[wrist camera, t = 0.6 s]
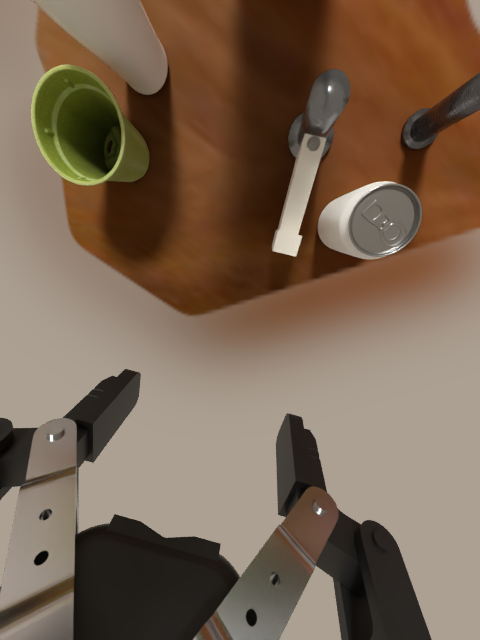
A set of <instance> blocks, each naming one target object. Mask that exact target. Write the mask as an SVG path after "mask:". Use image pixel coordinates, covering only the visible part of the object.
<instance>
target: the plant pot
mask: <svg viewBox="0 0 480 640" xmlns="http://www.w3.org/2000/svg"><path fill="white" fill-rule="evenodd" d="M31 120H32V127H33V131H34V135H35V138H36V141H37V144H38V146H39V148H40V150H41V153H42V155H43V156H44V158H45V159H46V161H47V162H48V163H49V165H50V166H51V167H52V168H53V169H54V170H55V171H56V172H57V173H58V174H59V175H60V176H62V177H63V178H65V179H67V180H69V181H70V182H73V183H75V184H79V185H84V186H94V185H98V184H101V183H104V182H106V181H119V182H134V181H136V180H138V179H140V178H141V177H143V176H144V175H145V173H146V171H147V169H148V166H149V159H150V156H149V150H148V147H147V145H146V142H145V140H144V138H143V137H142V135H141V134H140V133H139V132H138V131H137V130H136V128H135V127H134V126H133V125H132V124H131V123H130V122H129V121H128V119H127V118H126V117H125V116H124V115H123V114H122V112H121V110H120V107H119V105H118V103H117V101H116V99H115V97H114V95H113V94H112V92H111V91H110V90H109V88H108V87H107V86H106V85H105V84H104V82H103V81H102V80H101V79H100V78H98V77H97V76H96V75H95V74H93V73H92V72H90V71H88V70H86V69H84V68H82V67H79V66H75V65H60V66H57V67H55V68H53V69H51V70H49V71H48V72H47V73H46V74H45V75H43V77H42V78H41V79H40V81H39V82H38V84H37V86H36V88H35V91H34V94H33V99H32V106H31ZM110 141H112V146H111V149H110V150H111V151H110V153H109V152H108V145H109V142H110Z"/></svg>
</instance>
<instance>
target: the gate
mask: <svg viewBox="0 0 480 640" xmlns="http://www.w3.org/2000/svg"><path fill="white" fill-rule="evenodd" d="M326 139H327V138H323V137H319V136H314V135H310V134H306V133H305V135H304V137H303V140H302V143H301V145H300V148H299V150H298V154H297V158H296V161H295V165H294V169H293V173H292V177H291V180H290V184H289V188H288V192H287V196H286V199H285V203H284V207H283V211H282V214H281V218H280V222H279V226H278V230H276V231H275V235H274V239H273V243H272V251H274V252H278V253H283V254H287V255H291V256H295V257H296V255H297V252H298V249H299V246H300V242H301V239H302V236H300V235H298V233H299V230H300V226H301V223H302V220H303V216H304V213H305V210H306V206H307V203H308V199H309V196H310V193H311V189H312V186H313V182H314V179H315V176H316V172H317V169H318V166H319V162H320V159H321V155H322V152H323V149H324V145H325V142H326Z"/></svg>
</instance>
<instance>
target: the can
mask: <svg viewBox="0 0 480 640" xmlns="http://www.w3.org/2000/svg"><path fill="white" fill-rule="evenodd" d="M421 218H422V208H421V203H420V200H419V198H418V197H417V195H416V194H415V193H414V192H413V191H412V190H411V189H410V188H408V187H406V186H404V185H401V184H397V183H394V182H388V181H383V182H376V183H372V184H369V185H366V186H364V187H361V188H359V189H357V190H354V191H352V192H350V193H348V194H345V195H343V196H341V197H339V198H337V199H335V200H333V201H332V202H330V203H329V204H328V205H327V206H326V207H325V208H324V210H323V211H322V213H321V215H320V217H319V221H318V234H319V237H320V239H321V241H322V242H323V243H324V244H325V245H326V246H327V247H329V248H331V249H333V250H336V251H339V252H342V253H345V254H348V255H351V256H354V257H358V258H362V259H378V258H382V257H385V256H388V255H391V254H394V253H396V252H398V251H399V250H401V249H402V248H404V247H405V246H406V245H407V244H408V243H409V242H410V241H411V240H412V239H413V237H414V236H415V234H416V233H417V231H418V229H419V226H420V223H421Z"/></svg>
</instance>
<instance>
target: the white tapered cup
mask: <svg viewBox="0 0 480 640" xmlns="http://www.w3.org/2000/svg"><path fill="white" fill-rule="evenodd" d="M32 1H33V2H34V3H35V4H36V5H37V6H38V7H39V8H40V9H41V10H42V11H43V12H44V13H45V14H46V15H48V16H49V17H50V18H51V19H52V20H53V21H54V22H55V23H56V24H57V25H58V26H60V27H61V28H62V29H63V30H64V31H65V32H66V33H68V34H69V35H70V36H71V37H72V38H74V39H75V40H76V41H77V42H78V43H80V44H81V45H82V46H83V47H85V48H86V49H87V50H88V51H90V52H91V53H92V54H93V55H94V56H96V57H97V58H98V59H99V60H101V61H102V62H103V63H104V64H105V65H107V66H108V67H109V68H110V69H112V70H113V71H114V72H115V73H116V74H118V75H119V76H120V77H121V78H122V79H123V80H125V81H126V82H127V83H128V84H129V85H130V86H131V87H132V88H133V89H134V90H135V91H137V92H138V93H140V94H144V95H151V94H154V93H156V92H158V91H159V90H160V89H161V88H162V86H163V85H164V83H165V81H166V77H167V72H168V62H167V57H166V53H165V50H164V48H163V46H162V44H161V42H160V41H159V39H158V37H157V35H156V33H155V31H154V29H153V27H152V25H151V22H150V20H149V18H148V16H147V14H146V12H145V9H144V7H143V5H142V3H141V1H140V0H32Z"/></svg>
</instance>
